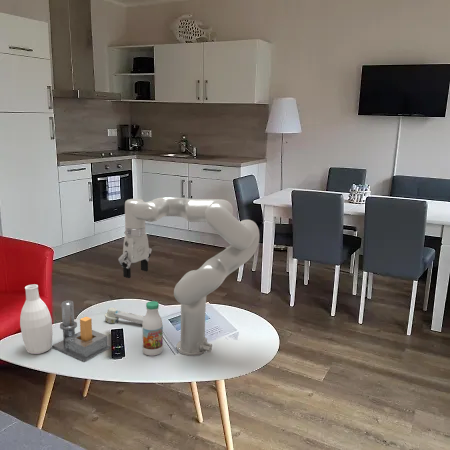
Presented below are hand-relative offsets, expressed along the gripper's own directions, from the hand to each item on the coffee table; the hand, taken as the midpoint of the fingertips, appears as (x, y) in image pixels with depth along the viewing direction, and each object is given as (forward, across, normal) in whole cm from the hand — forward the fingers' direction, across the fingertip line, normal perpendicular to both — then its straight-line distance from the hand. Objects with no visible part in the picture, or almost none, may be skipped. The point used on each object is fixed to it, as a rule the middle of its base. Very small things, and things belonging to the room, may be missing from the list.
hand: (135, 273), depth 178 cm
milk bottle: (+28, -3, -11) cm, 31 cm away
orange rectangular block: (+27, -17, +10) cm, 34 cm away
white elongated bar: (+29, +10, +12) cm, 33 cm away
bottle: (+28, -27, +25) cm, 46 cm away
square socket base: (+28, -17, +14) cm, 36 cm away
